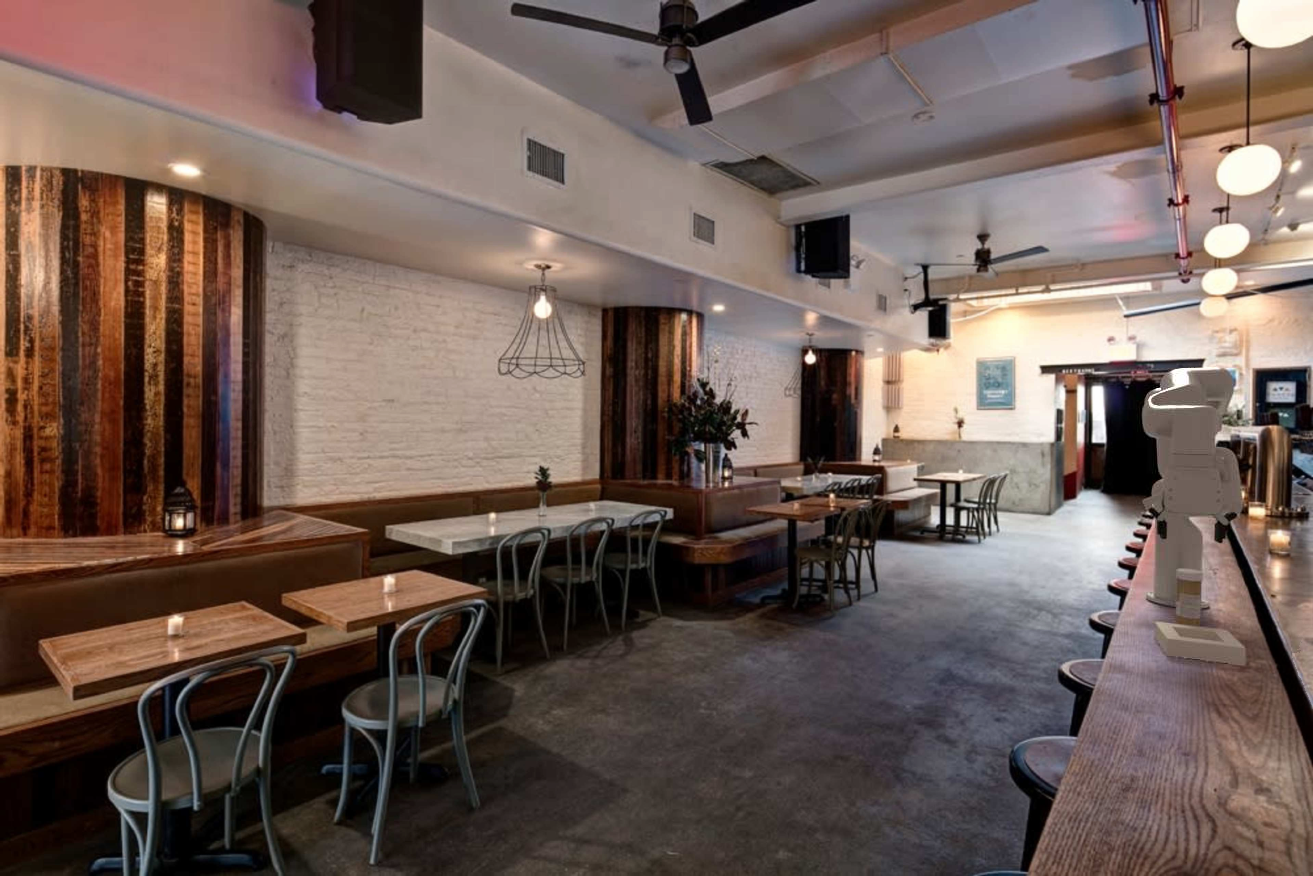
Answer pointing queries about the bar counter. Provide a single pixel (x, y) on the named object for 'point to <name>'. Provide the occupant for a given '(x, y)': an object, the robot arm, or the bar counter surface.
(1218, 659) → the collar
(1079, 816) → the bar counter surface
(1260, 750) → the bar counter surface
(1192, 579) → the sprinkles bottle
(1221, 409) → the robot arm
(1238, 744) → the bar counter surface
